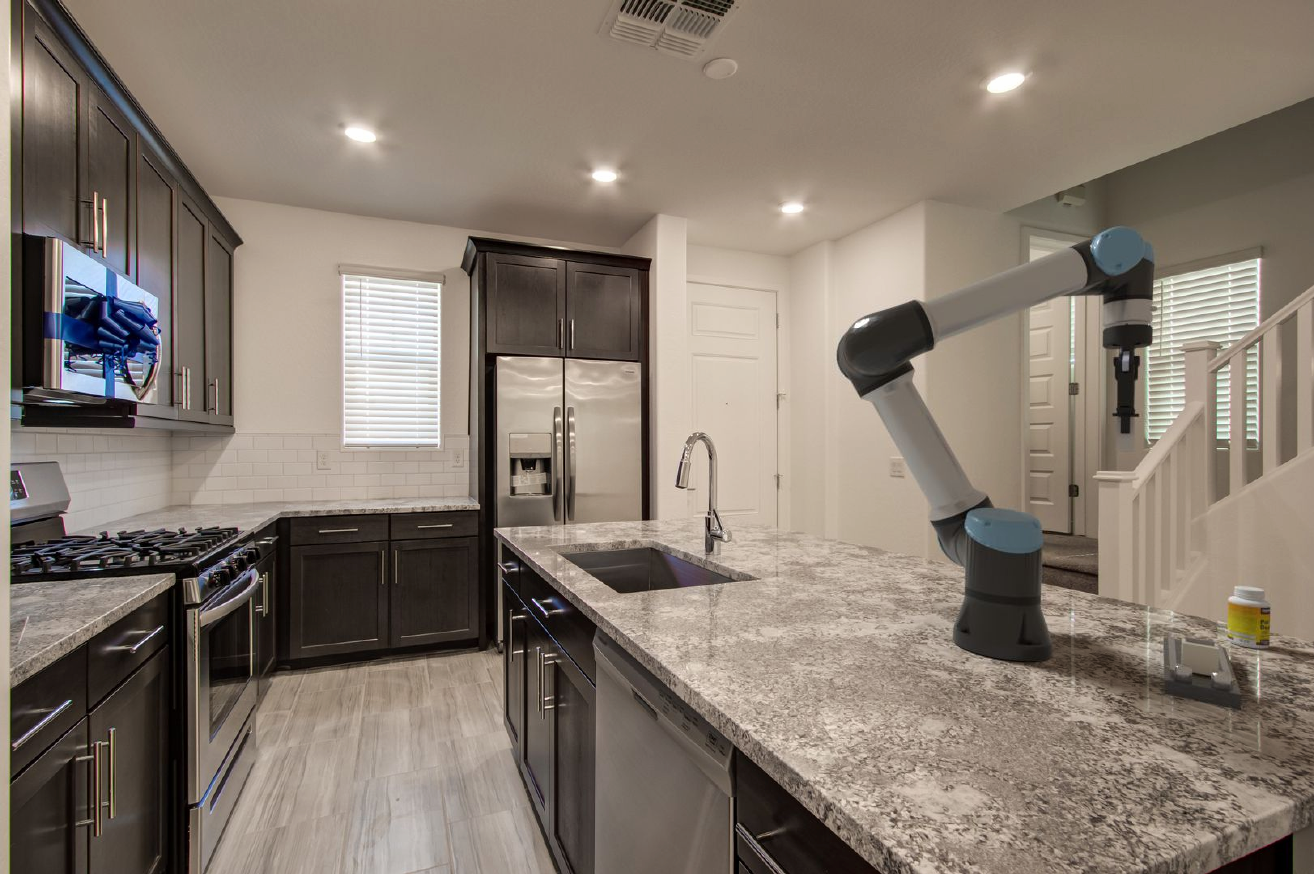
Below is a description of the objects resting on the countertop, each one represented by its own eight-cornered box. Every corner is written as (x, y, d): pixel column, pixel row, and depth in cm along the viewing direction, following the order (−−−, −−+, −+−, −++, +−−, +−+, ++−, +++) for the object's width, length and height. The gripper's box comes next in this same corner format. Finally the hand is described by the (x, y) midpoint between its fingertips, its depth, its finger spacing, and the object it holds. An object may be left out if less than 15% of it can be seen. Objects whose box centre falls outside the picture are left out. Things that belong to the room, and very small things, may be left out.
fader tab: (1182, 670, 92) (1182, 638, 92) (1181, 664, 94) (1181, 634, 94) (1218, 676, 90) (1218, 644, 90) (1216, 671, 92) (1217, 640, 92)
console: (1164, 693, 89) (1165, 665, 89) (1163, 648, 109) (1163, 625, 109) (1241, 709, 84) (1241, 679, 84) (1224, 659, 104) (1225, 635, 104)
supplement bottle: (1264, 651, 109) (1265, 593, 109) (1222, 642, 113) (1223, 586, 113) (1273, 646, 112) (1274, 589, 112) (1232, 638, 116) (1233, 583, 117)
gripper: (1152, 318, 110) (1150, 452, 110) (1153, 329, 120) (1150, 452, 120) (1100, 322, 115) (1098, 451, 114) (1105, 333, 125) (1102, 451, 125)
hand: (1125, 451), depth 117 cm, fingers closed
